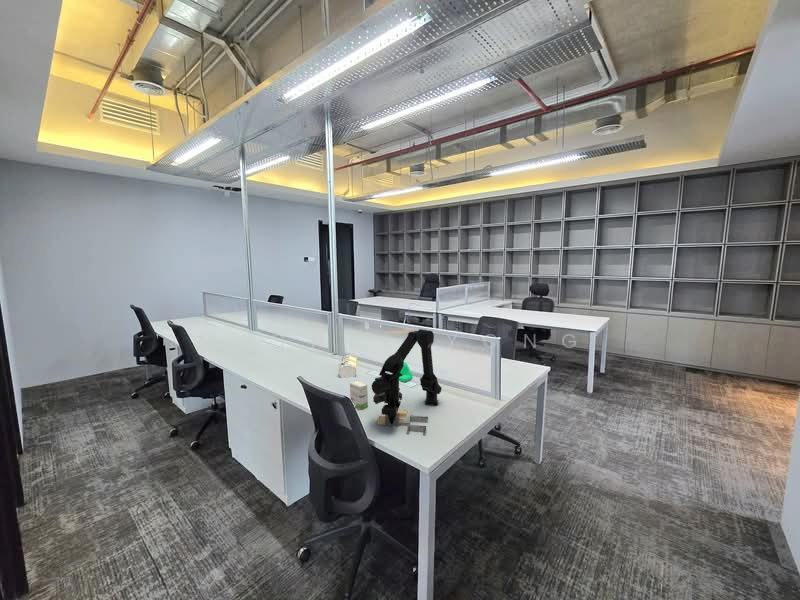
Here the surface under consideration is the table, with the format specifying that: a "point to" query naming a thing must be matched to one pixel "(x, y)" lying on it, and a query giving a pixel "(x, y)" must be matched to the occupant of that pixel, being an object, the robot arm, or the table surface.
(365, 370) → the table surface
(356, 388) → the ink box
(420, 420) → the pair of grey brackets
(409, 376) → the camera mount
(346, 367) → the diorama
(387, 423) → the plug
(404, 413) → the pad
